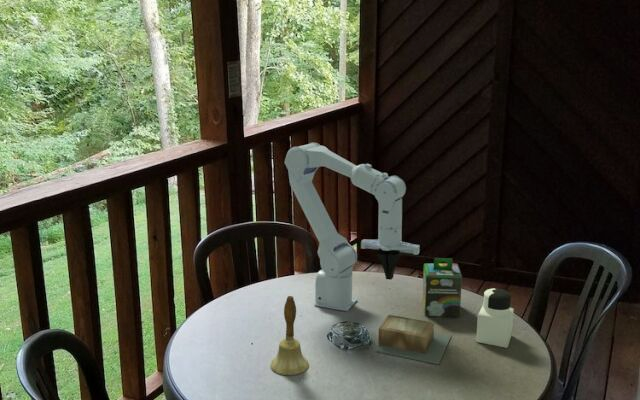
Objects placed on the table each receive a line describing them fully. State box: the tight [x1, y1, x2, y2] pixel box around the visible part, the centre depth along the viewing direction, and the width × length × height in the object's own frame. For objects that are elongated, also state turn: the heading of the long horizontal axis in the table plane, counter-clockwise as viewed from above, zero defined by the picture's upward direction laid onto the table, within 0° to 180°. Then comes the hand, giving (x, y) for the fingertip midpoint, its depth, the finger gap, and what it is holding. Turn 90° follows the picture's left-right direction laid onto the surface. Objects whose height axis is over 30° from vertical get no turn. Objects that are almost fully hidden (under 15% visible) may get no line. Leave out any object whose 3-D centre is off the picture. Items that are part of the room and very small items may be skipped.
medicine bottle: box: [475, 287, 515, 349], centre depth 138 cm, size 7×7×12 cm
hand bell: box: [270, 295, 310, 376], centre depth 125 cm, size 8×8×16 cm
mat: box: [376, 332, 452, 366], centre depth 136 cm, size 14×14×1 cm
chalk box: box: [422, 257, 463, 318], centre depth 153 cm, size 9×9×15 cm
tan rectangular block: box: [377, 314, 435, 354], centre depth 137 cm, size 4×8×11 cm
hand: (389, 278), depth 148 cm, fingers closed
